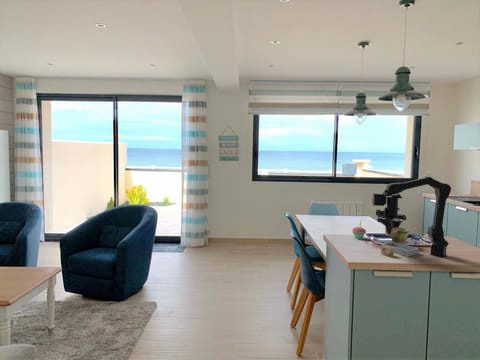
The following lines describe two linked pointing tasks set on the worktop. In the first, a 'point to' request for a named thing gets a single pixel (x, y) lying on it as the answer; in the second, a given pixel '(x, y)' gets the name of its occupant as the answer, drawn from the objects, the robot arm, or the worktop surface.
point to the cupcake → (359, 232)
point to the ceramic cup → (401, 236)
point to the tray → (402, 249)
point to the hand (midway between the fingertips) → (391, 233)
